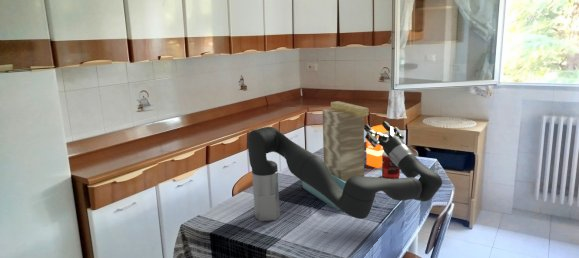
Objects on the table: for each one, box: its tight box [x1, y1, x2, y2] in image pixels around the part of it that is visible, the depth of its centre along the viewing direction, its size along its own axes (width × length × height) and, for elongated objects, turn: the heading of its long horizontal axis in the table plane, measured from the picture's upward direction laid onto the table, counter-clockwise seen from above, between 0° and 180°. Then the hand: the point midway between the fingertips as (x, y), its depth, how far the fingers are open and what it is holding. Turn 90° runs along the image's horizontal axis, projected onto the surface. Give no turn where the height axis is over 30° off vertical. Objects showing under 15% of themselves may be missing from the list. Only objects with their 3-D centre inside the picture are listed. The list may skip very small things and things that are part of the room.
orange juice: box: [365, 124, 388, 169], centre depth 204 cm, size 8×9×20 cm
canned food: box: [381, 152, 401, 179], centre depth 187 cm, size 8×8×11 cm
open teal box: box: [301, 174, 346, 211], centre depth 169 cm, size 28×11×6 cm, turn 26°
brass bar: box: [330, 100, 370, 117], centre depth 174 cm, size 22×4×3 cm, turn 26°
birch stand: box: [322, 108, 365, 182], centre depth 182 cm, size 14×12×32 cm
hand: (374, 124), depth 160 cm, fingers open, 8 cm apart
